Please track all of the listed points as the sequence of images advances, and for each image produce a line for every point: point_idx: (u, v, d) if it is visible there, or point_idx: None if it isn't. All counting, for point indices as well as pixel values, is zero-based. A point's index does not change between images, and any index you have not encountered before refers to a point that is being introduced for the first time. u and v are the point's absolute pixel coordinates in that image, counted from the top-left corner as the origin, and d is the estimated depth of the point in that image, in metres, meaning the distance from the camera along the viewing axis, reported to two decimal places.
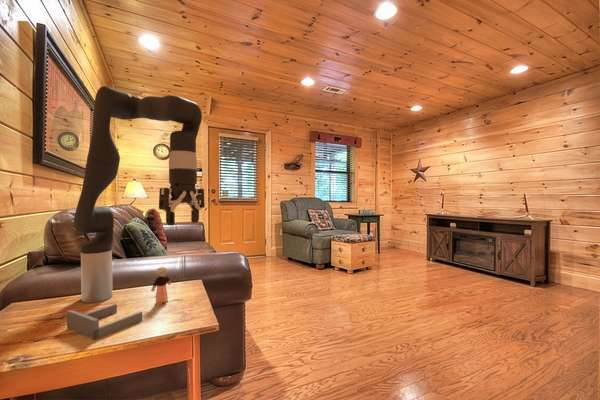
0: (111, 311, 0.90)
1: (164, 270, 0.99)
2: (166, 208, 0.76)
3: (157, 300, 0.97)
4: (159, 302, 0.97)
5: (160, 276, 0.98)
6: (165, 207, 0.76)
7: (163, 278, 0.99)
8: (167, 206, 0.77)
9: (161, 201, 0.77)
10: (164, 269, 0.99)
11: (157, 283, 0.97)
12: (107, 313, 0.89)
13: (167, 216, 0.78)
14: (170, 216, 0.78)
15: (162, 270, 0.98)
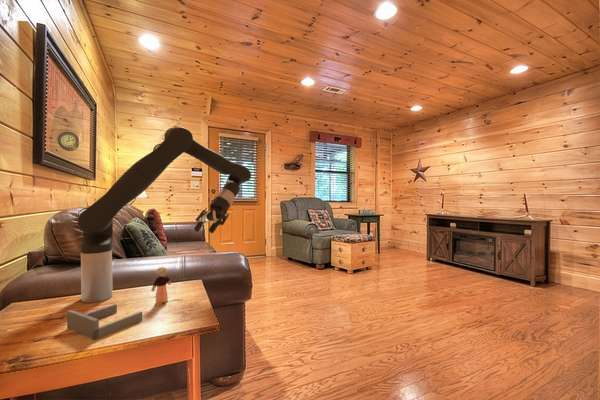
0: (111, 311, 0.90)
1: (164, 270, 0.99)
2: None
3: (157, 300, 0.97)
4: (159, 302, 0.97)
5: (160, 276, 0.98)
6: None
7: (163, 278, 0.99)
8: None
9: None
10: (164, 269, 0.99)
11: (157, 283, 0.97)
12: (107, 313, 0.89)
13: (215, 226, 1.13)
14: None
15: (162, 270, 0.98)
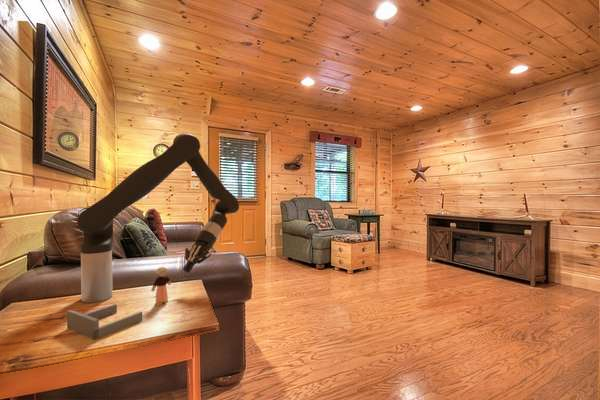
0: (111, 311, 0.90)
1: (164, 270, 0.99)
2: None
3: (157, 300, 0.97)
4: (159, 302, 0.97)
5: (160, 276, 0.98)
6: None
7: (163, 278, 0.99)
8: None
9: None
10: (164, 269, 0.99)
11: (157, 283, 0.97)
12: (107, 313, 0.89)
13: (191, 265, 1.09)
14: None
15: (162, 270, 0.98)
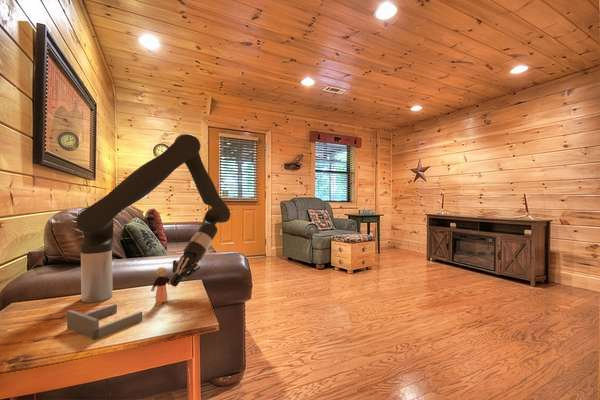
0: (111, 311, 0.90)
1: (164, 270, 0.99)
2: None
3: (157, 300, 0.97)
4: (159, 302, 0.97)
5: (160, 276, 0.98)
6: None
7: (163, 278, 0.99)
8: None
9: None
10: (164, 269, 0.99)
11: (157, 283, 0.97)
12: (107, 313, 0.89)
13: (179, 279, 1.04)
14: None
15: (161, 270, 0.98)
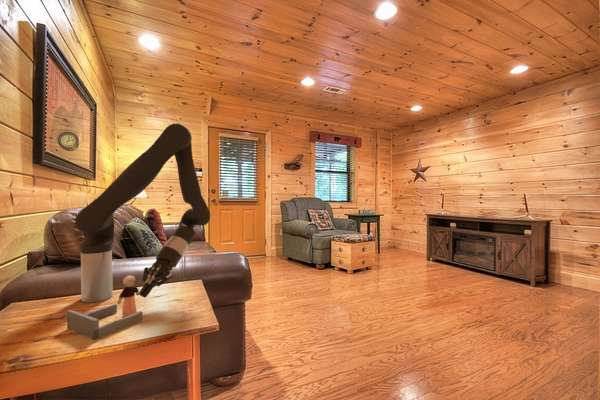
0: (111, 311, 0.90)
1: (132, 279, 0.88)
2: None
3: (124, 313, 0.86)
4: None
5: (127, 286, 0.87)
6: None
7: (131, 288, 0.88)
8: None
9: None
10: (132, 278, 0.88)
11: (124, 294, 0.86)
12: (107, 313, 0.89)
13: (149, 289, 0.93)
14: None
15: (129, 280, 0.87)
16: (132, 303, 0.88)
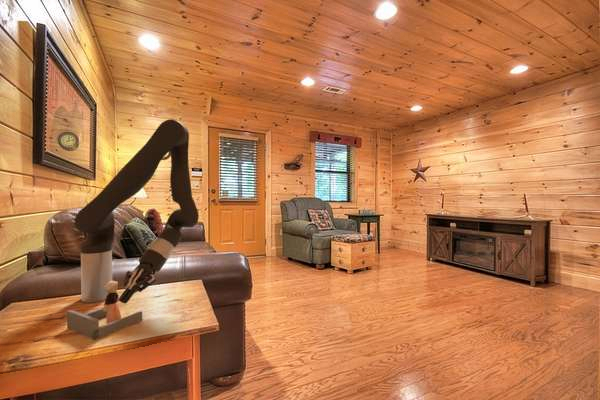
0: None
1: (116, 284, 0.83)
2: None
3: (110, 321, 0.81)
4: None
5: (111, 292, 0.82)
6: None
7: (115, 294, 0.83)
8: None
9: None
10: (116, 283, 0.83)
11: (110, 301, 0.81)
12: None
13: (129, 295, 0.88)
14: None
15: (114, 285, 0.82)
16: (117, 309, 0.83)
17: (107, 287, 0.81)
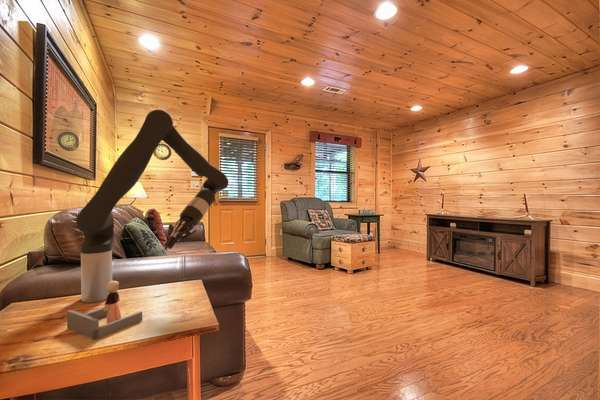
0: None
1: (117, 284, 0.83)
2: None
3: (110, 321, 0.81)
4: None
5: (112, 292, 0.82)
6: None
7: (115, 294, 0.83)
8: None
9: None
10: (117, 283, 0.83)
11: (110, 301, 0.81)
12: None
13: (174, 241, 1.02)
14: None
15: (115, 285, 0.82)
16: (117, 309, 0.83)
17: (108, 287, 0.81)
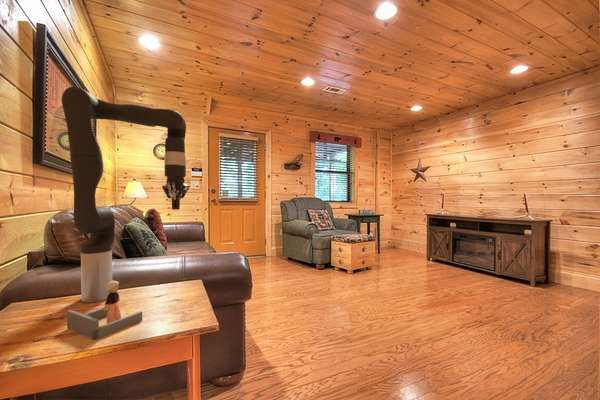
0: None
1: (117, 284, 0.83)
2: None
3: (110, 321, 0.81)
4: None
5: (112, 292, 0.82)
6: None
7: (115, 294, 0.83)
8: None
9: None
10: (117, 283, 0.83)
11: (110, 301, 0.81)
12: None
13: (177, 203, 1.09)
14: None
15: (115, 285, 0.82)
16: (117, 309, 0.83)
17: (108, 287, 0.81)
